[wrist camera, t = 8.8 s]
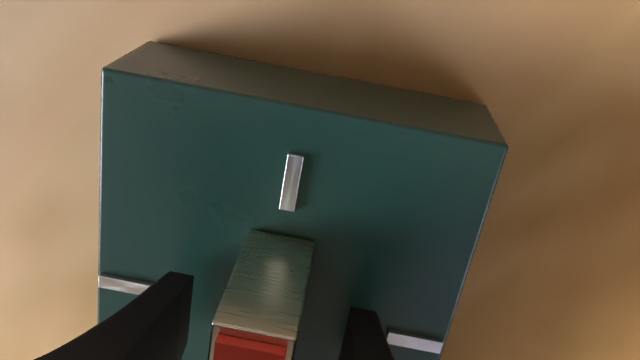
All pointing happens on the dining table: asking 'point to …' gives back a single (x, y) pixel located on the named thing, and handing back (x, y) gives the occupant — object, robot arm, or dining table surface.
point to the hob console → (291, 191)
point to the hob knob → (263, 300)
